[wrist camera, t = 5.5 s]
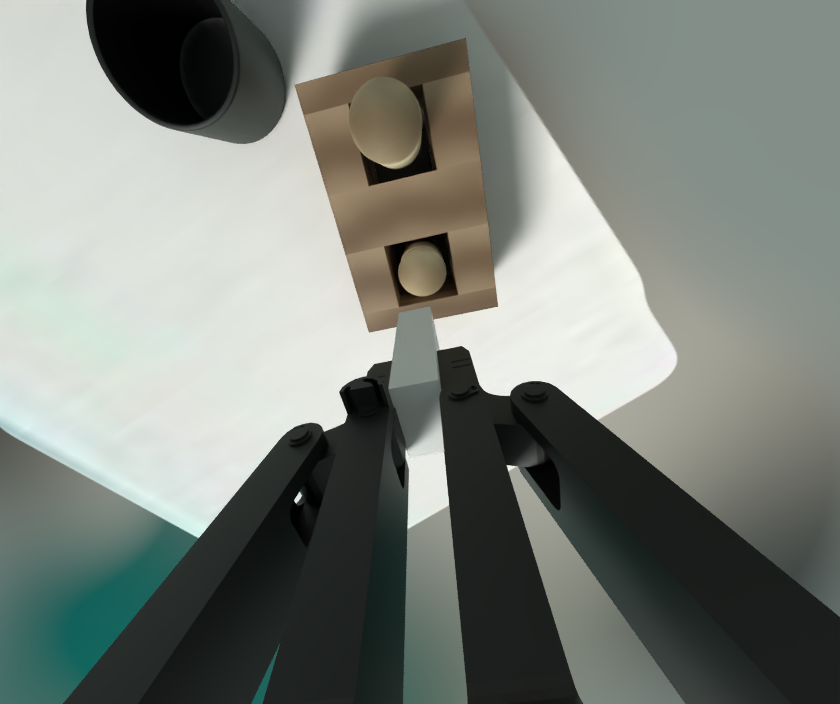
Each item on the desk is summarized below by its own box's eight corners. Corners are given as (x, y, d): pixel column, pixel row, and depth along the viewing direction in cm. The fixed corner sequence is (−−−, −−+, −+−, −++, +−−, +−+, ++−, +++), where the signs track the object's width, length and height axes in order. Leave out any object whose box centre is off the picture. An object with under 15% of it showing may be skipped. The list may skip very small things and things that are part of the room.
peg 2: (398, 240, 36) (393, 254, 28) (437, 231, 35) (441, 243, 28) (407, 278, 37) (404, 300, 30) (444, 270, 37) (450, 291, 30)
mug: (175, -52, 27) (68, -155, 19) (307, 75, 30) (265, 34, 22) (129, 64, 30) (20, 19, 22) (253, 167, 33) (199, 162, 25)
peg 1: (361, 115, 26) (339, 87, 18) (415, 101, 25) (413, 67, 18) (376, 174, 27) (360, 171, 20) (426, 162, 27) (428, 154, 20)
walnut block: (323, 107, 31) (294, 84, 24) (454, 73, 30) (465, 38, 23) (378, 305, 39) (369, 332, 32) (483, 283, 38) (497, 306, 31)
